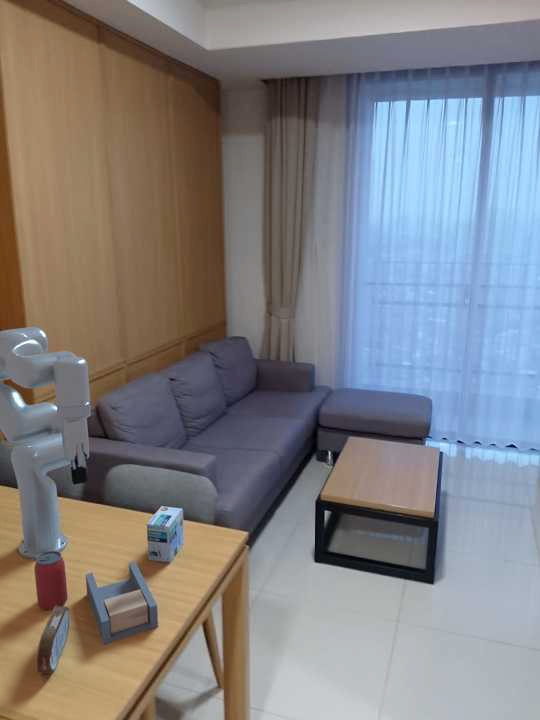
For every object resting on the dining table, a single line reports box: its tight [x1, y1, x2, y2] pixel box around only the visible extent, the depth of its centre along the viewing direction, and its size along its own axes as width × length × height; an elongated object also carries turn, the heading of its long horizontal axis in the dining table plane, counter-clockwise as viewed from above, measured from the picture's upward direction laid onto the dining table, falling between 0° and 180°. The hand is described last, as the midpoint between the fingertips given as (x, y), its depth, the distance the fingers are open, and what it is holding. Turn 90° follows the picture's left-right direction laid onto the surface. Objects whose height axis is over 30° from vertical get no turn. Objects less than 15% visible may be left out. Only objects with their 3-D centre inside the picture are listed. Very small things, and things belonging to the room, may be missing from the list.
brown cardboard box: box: [104, 590, 148, 634], centre depth 125 cm, size 6×8×4 cm
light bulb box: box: [146, 505, 185, 563], centre depth 153 cm, size 11×7×11 cm, turn 168°
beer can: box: [34, 551, 68, 611], centre depth 132 cm, size 7×7×12 cm
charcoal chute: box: [85, 561, 159, 645], centre depth 130 cm, size 19×12×6 cm, turn 28°
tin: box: [36, 605, 70, 674], centre depth 116 cm, size 15×3×8 cm, turn 5°
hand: (79, 482), depth 135 cm, fingers closed
